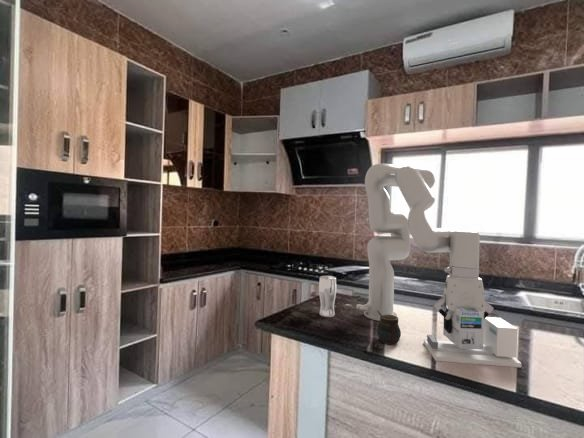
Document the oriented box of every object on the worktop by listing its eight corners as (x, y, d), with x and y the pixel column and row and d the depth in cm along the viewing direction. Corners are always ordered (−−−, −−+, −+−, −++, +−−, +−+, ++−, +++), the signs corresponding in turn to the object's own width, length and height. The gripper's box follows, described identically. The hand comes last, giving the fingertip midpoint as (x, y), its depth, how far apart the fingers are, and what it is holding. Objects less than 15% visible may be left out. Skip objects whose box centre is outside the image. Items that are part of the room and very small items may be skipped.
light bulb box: (484, 350, 87) (485, 311, 87) (459, 349, 87) (460, 310, 87) (463, 335, 98) (464, 300, 98) (442, 334, 98) (442, 300, 98)
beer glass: (336, 317, 122) (337, 279, 122) (319, 317, 123) (319, 279, 122) (334, 312, 129) (335, 275, 129) (317, 311, 130) (318, 275, 129)
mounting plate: (435, 360, 88) (435, 346, 88) (423, 343, 100) (424, 330, 100) (521, 367, 85) (521, 352, 85) (498, 348, 97) (498, 335, 97)
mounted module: (496, 356, 87) (497, 327, 87) (481, 342, 96) (482, 316, 96) (516, 357, 87) (517, 328, 86) (499, 344, 96) (500, 317, 95)
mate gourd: (405, 346, 98) (406, 314, 97) (382, 347, 96) (383, 314, 96) (394, 336, 105) (394, 307, 104) (372, 338, 103) (373, 307, 103)
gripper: (436, 273, 90) (435, 335, 90) (502, 276, 87) (500, 339, 88) (428, 269, 97) (427, 326, 98) (489, 271, 95) (487, 330, 95)
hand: (462, 332), depth 93 cm, fingers closed on light bulb box, 7 cm apart
